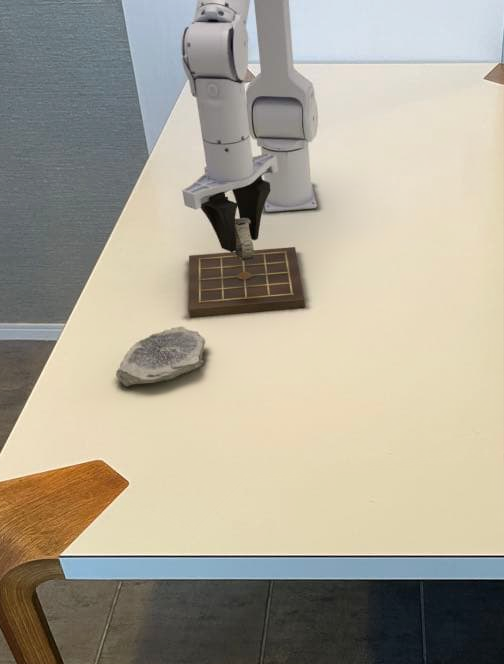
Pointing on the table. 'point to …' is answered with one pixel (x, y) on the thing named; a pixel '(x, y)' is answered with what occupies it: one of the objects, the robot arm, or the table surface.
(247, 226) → the wristwatch
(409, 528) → the table surface
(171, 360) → the fossil
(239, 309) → the board
